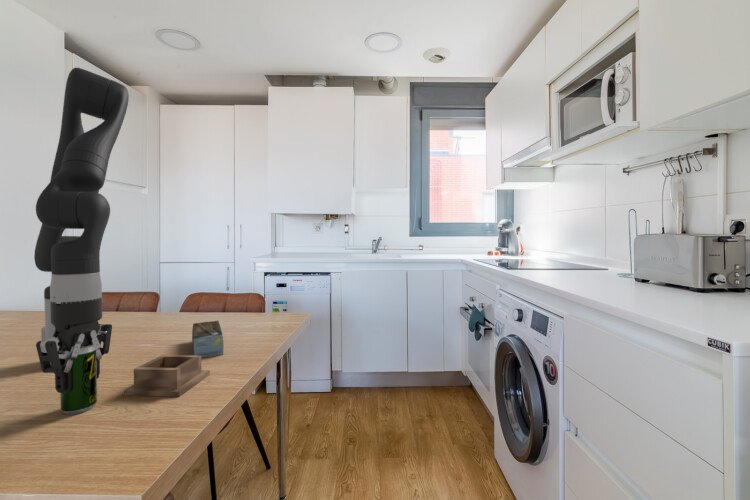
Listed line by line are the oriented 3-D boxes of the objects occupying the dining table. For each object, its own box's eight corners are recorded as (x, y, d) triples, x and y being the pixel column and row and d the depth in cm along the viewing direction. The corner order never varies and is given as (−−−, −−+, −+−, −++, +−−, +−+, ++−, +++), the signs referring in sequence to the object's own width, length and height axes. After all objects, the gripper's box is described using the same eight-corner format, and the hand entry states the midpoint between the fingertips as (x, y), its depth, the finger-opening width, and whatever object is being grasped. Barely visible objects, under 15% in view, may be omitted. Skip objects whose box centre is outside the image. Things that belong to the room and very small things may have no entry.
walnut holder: (123, 395, 74) (123, 371, 74) (161, 373, 86) (161, 353, 85) (179, 396, 73) (179, 372, 73) (209, 374, 85) (209, 353, 85)
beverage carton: (192, 360, 96) (191, 335, 96) (192, 342, 113) (192, 321, 113) (224, 355, 100) (223, 332, 100) (219, 339, 117) (219, 319, 117)
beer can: (58, 418, 64) (56, 352, 64) (63, 406, 69) (62, 344, 68) (95, 410, 67) (94, 347, 67) (98, 399, 72) (97, 340, 71)
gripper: (90, 291, 75) (92, 371, 75) (18, 303, 60) (20, 402, 61) (124, 291, 74) (126, 372, 75) (60, 303, 60) (62, 403, 60)
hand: (78, 385), depth 68 cm, fingers closed on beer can, 5 cm apart
